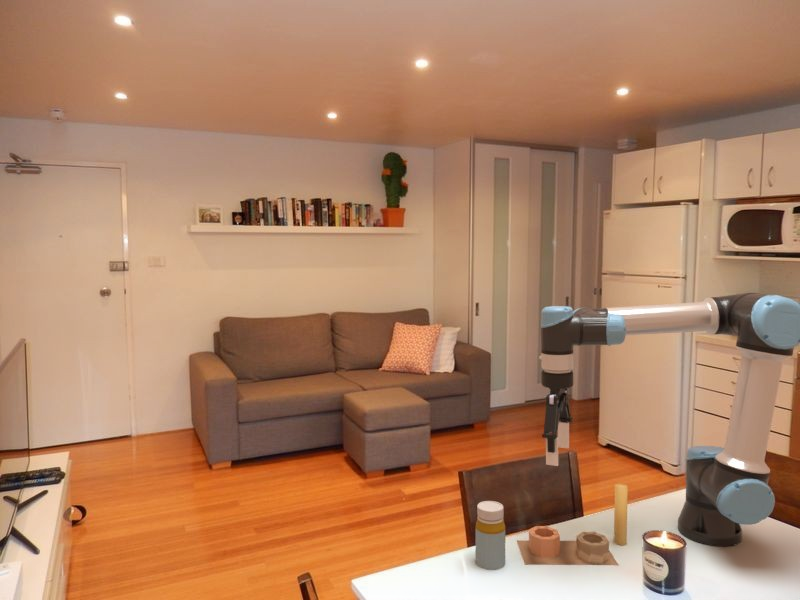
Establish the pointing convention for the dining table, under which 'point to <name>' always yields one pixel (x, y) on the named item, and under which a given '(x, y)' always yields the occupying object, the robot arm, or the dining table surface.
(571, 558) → the lacing board
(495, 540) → the bottle
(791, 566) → the dining table surface
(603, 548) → the bead beech
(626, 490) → the dowel
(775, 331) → the robot arm
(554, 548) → the bead rust
